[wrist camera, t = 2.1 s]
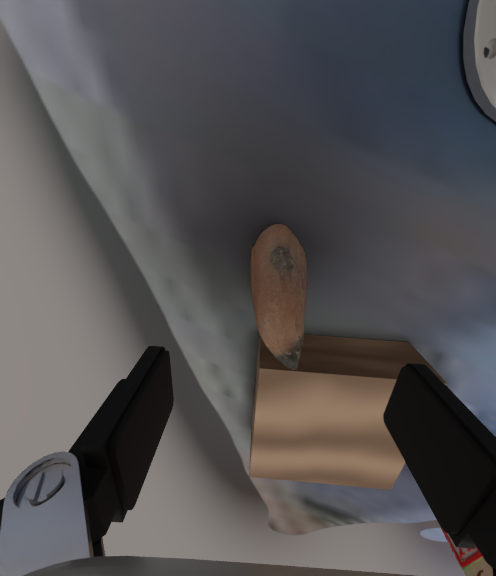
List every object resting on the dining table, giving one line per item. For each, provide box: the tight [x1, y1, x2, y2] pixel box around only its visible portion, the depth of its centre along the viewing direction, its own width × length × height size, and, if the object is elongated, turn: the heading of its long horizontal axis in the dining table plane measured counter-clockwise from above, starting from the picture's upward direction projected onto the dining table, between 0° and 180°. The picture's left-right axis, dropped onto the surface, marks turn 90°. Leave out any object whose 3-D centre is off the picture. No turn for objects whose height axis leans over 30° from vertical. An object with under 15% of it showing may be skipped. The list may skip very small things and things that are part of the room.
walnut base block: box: [249, 334, 447, 490], centre depth 23 cm, size 14×14×5 cm
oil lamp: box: [251, 224, 307, 370], centre depth 16 cm, size 9×4×8 cm, turn 10°
